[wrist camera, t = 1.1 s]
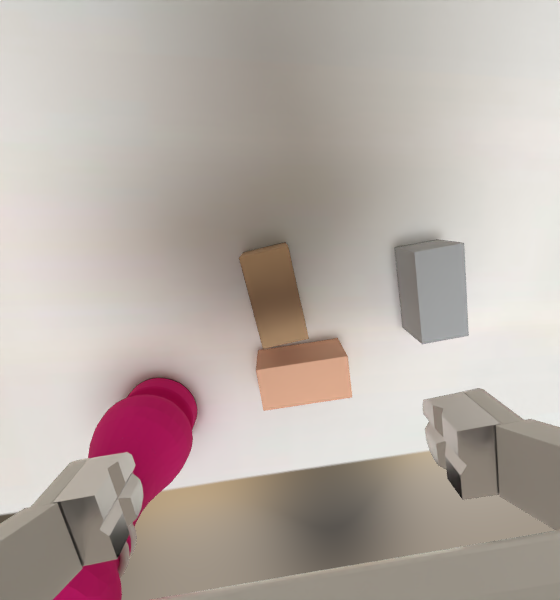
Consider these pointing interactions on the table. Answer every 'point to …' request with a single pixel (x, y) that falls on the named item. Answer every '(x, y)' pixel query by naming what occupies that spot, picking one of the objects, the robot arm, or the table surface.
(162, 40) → the table surface
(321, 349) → the terracotta brick
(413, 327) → the slate-grey brick
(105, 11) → the table surface
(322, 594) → the robot arm
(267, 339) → the walnut brick
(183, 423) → the pepper mill
